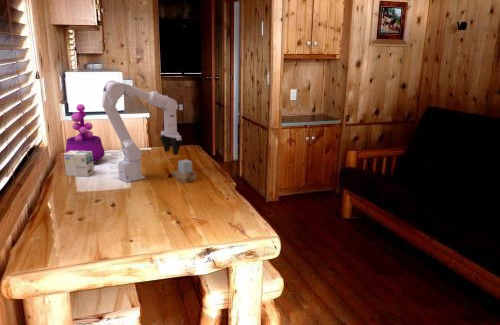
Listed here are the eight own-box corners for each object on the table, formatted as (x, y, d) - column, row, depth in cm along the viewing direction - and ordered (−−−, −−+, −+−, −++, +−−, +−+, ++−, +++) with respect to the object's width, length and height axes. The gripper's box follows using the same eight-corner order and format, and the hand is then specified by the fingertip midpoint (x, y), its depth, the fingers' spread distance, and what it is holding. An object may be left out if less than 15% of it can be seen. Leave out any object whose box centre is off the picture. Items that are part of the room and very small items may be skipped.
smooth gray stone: (176, 177, 186) (176, 175, 186) (169, 174, 190) (169, 172, 190) (187, 175, 190) (187, 172, 190) (180, 172, 194) (180, 170, 194)
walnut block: (185, 183, 178) (185, 174, 177) (175, 180, 182) (175, 171, 181) (196, 180, 183) (196, 171, 182) (186, 177, 187) (186, 169, 186)
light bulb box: (94, 172, 190) (92, 150, 187) (87, 177, 184) (85, 154, 181) (73, 171, 191) (70, 149, 188) (65, 176, 185) (63, 153, 182)
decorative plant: (91, 168, 197) (86, 107, 189) (58, 165, 200) (51, 105, 192) (112, 158, 215) (107, 102, 207) (80, 156, 218) (75, 101, 210)
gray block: (183, 173, 178) (183, 163, 177) (178, 171, 182) (178, 160, 180) (192, 172, 181) (192, 161, 180) (187, 169, 185) (186, 159, 183)
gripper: (186, 125, 183) (187, 154, 187) (169, 121, 194) (170, 148, 197) (173, 127, 179) (174, 156, 182) (156, 122, 189) (157, 150, 193)
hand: (171, 152), depth 190 cm, fingers open, 7 cm apart
